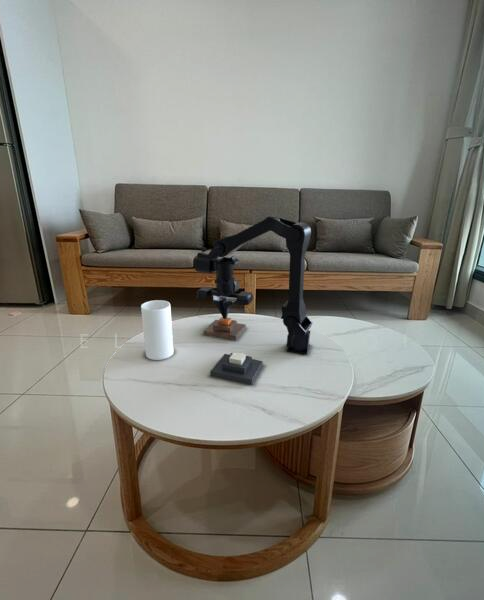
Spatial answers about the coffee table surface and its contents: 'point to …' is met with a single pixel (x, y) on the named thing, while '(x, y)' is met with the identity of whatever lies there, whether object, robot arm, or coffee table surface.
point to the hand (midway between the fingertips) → (225, 318)
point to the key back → (225, 321)
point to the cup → (157, 329)
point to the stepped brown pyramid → (225, 330)
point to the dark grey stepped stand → (237, 370)
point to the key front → (237, 358)
